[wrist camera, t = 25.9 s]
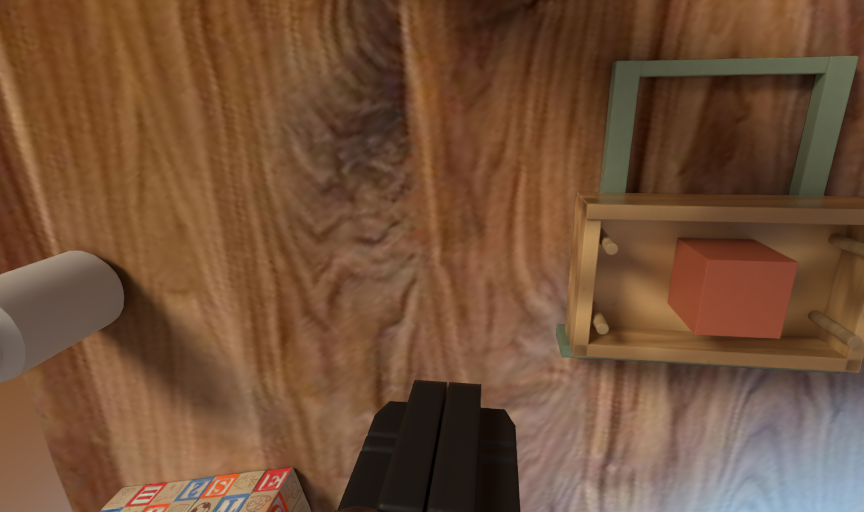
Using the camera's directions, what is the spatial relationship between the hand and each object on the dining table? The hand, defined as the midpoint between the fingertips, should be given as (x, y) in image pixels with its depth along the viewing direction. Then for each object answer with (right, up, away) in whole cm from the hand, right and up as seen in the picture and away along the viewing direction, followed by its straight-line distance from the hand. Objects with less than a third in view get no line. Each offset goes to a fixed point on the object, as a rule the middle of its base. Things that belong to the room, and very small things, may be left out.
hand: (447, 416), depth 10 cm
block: (+19, +2, +22) cm, 30 cm away
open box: (+19, +3, +23) cm, 30 cm away
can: (-32, +1, +33) cm, 46 cm away
